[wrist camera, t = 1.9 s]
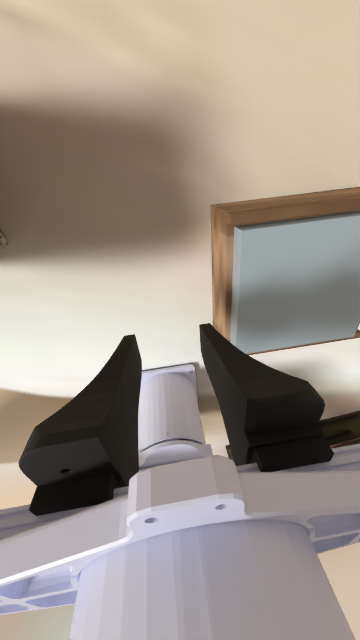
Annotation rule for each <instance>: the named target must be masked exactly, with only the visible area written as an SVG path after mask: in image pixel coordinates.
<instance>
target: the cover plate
mask: <svg viewBox="0 0 360 640" xmlns="http://www.w3.org/2000/svg"><path fill="white" fill-rule="evenodd" d="M359 324H360V211H352V212H344V213H336V214H329V215H321V216H313V217H305V218H297V219H289V220H282V221H274V222H266V223H258V224H250V225H243V226H235V227H234V249H233V278H232V306H231V334H230V343H232V344H233V345H234V346H235V347H237V348H238V349H239V350H241V351H242V352H244V353H245V354H248V353H254V352H261V351H267V350H273V349H280V348H286V347H292V346H298V345H305V344H311V343H317V342H324V341H330V340H336V339H343V338H349V337H354V335H355V333H356V331H357V328H358V326H359Z"/></svg>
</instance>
